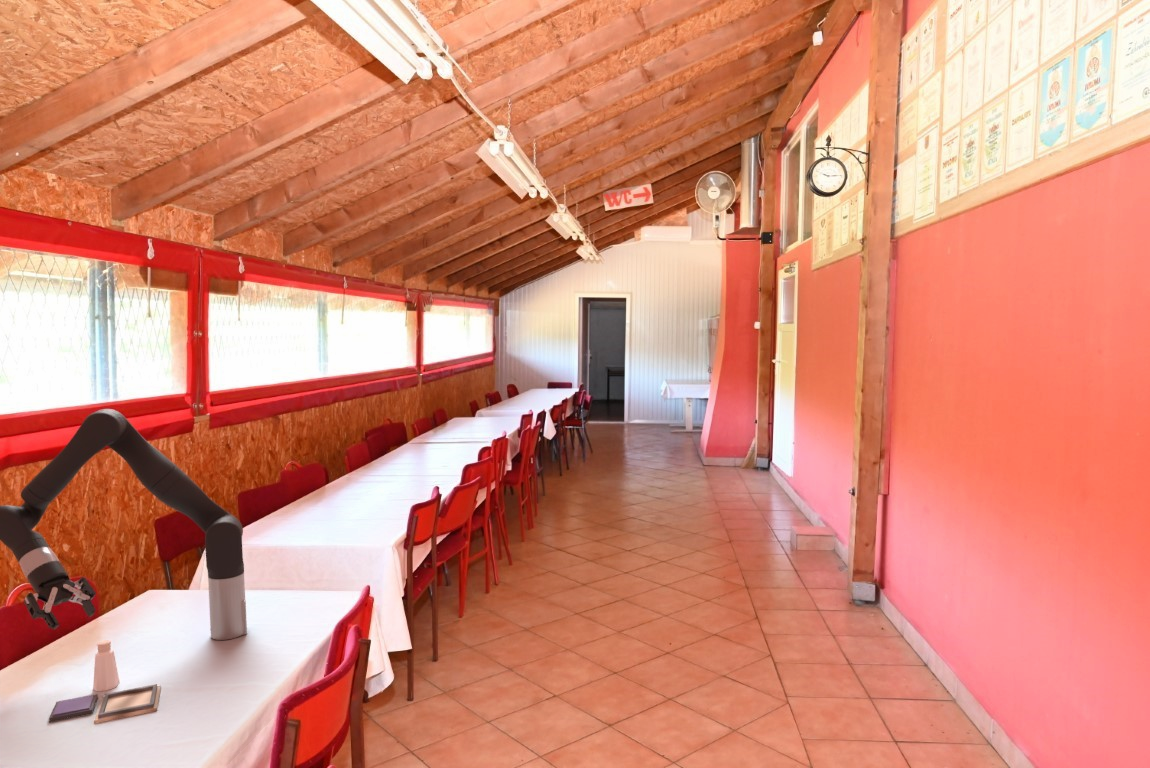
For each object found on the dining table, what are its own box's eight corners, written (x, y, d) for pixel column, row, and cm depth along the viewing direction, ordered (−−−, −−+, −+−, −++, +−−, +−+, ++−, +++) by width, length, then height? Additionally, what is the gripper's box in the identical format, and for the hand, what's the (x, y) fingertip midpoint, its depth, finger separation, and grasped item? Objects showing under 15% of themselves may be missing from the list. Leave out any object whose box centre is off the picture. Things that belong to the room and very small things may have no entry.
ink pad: (97, 698, 172) (97, 692, 172) (92, 713, 165) (92, 708, 165) (56, 705, 169) (56, 700, 168) (49, 722, 161) (48, 716, 161)
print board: (161, 687, 177) (160, 682, 177) (157, 710, 166) (156, 704, 166) (102, 699, 171) (101, 693, 171) (94, 723, 161) (93, 717, 161)
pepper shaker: (106, 692, 175) (104, 647, 174) (87, 690, 176) (84, 645, 175) (125, 682, 180) (122, 638, 179) (106, 680, 181) (103, 636, 180)
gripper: (17, 569, 177) (50, 622, 174) (78, 552, 190) (109, 602, 186) (6, 587, 180) (37, 640, 176) (66, 570, 193) (97, 619, 189)
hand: (74, 620), depth 181 cm, fingers open, 8 cm apart
